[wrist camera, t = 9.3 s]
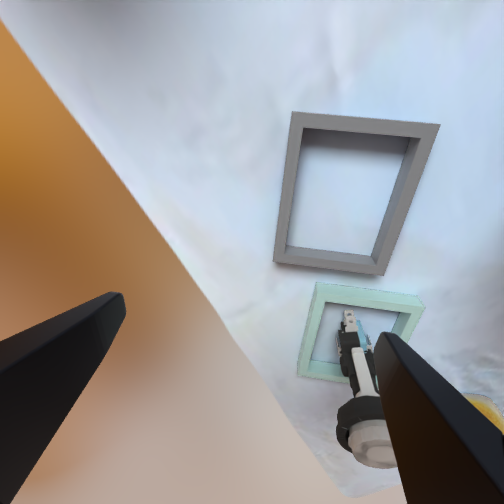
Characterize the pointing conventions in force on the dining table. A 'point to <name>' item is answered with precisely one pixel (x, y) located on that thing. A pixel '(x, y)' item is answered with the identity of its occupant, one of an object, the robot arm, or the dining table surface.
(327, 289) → the mint green frame
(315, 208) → the dining table surface
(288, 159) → the grey rectangular frame
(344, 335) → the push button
